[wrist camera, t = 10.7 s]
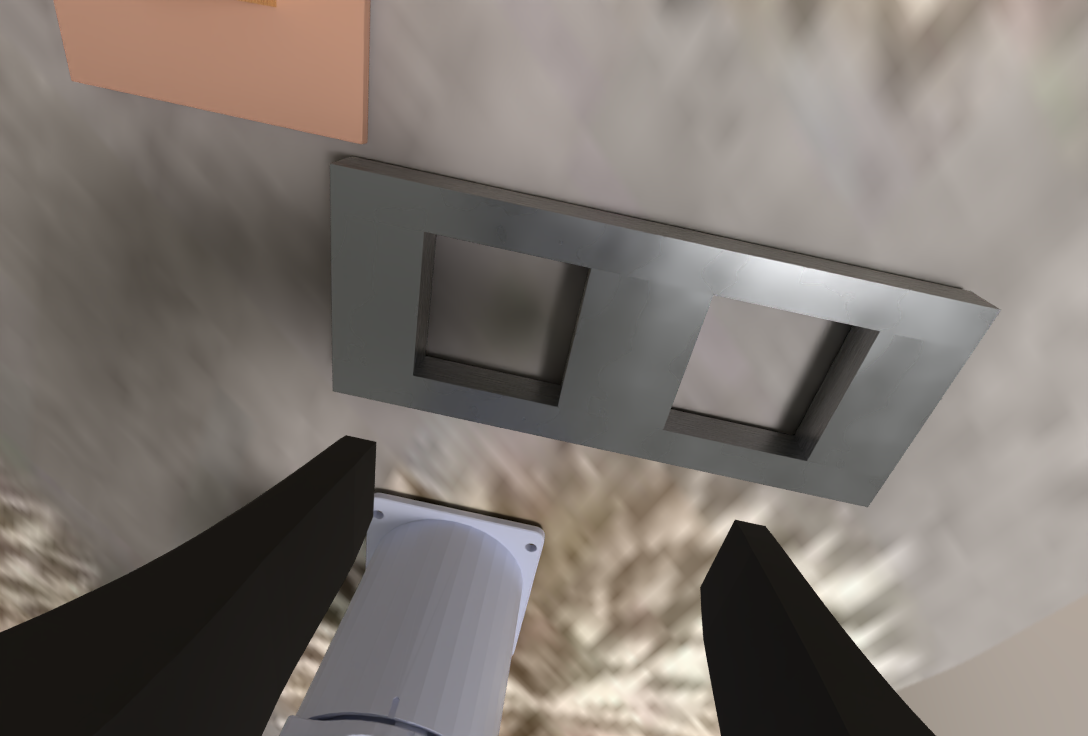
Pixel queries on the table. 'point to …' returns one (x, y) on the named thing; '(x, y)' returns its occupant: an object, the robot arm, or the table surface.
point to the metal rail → (638, 332)
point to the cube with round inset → (262, 2)
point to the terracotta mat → (230, 57)
